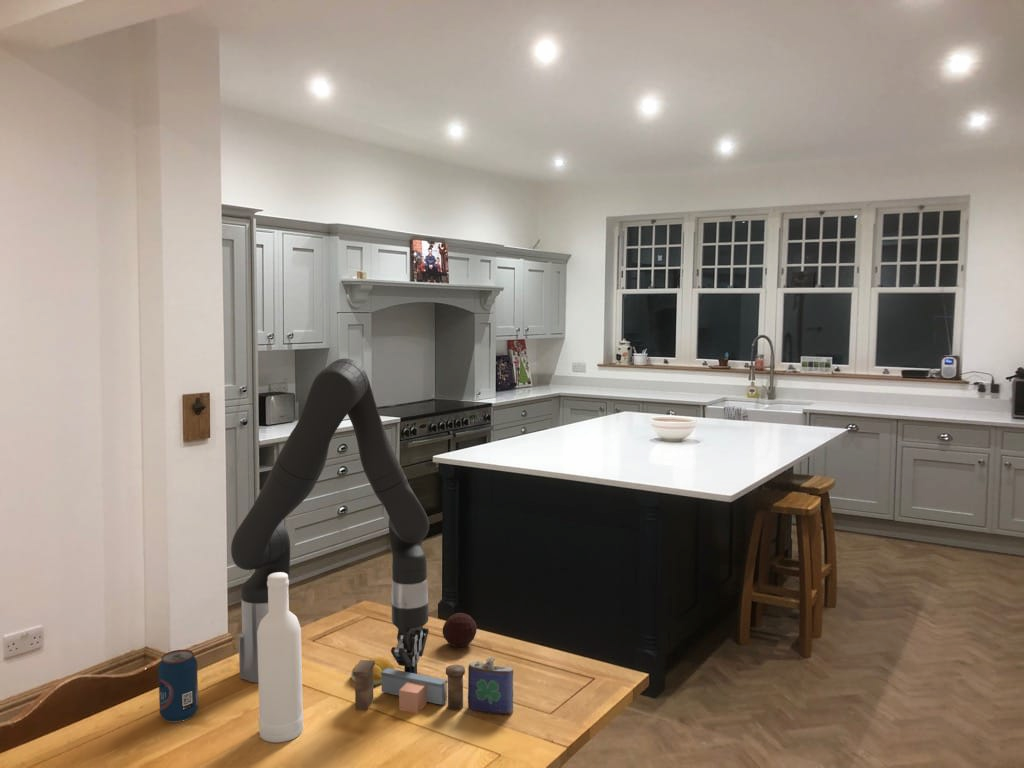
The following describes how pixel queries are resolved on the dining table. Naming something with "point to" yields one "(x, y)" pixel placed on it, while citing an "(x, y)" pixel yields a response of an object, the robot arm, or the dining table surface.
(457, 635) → the dark maroon ball
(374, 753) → the dining table surface
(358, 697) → the stepped wooden slab
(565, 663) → the dining table surface
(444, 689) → the grey rectangular bar
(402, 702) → the block
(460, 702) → the dark brown cylindrical piece
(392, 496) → the robot arm
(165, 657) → the soda can
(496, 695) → the flask
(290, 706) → the bottle
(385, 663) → the bread roll
